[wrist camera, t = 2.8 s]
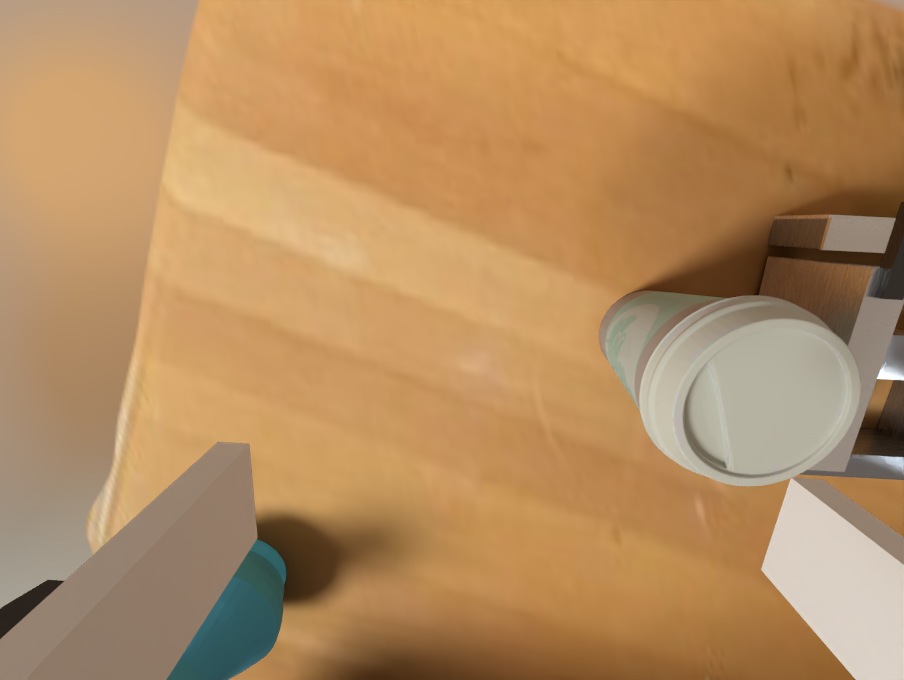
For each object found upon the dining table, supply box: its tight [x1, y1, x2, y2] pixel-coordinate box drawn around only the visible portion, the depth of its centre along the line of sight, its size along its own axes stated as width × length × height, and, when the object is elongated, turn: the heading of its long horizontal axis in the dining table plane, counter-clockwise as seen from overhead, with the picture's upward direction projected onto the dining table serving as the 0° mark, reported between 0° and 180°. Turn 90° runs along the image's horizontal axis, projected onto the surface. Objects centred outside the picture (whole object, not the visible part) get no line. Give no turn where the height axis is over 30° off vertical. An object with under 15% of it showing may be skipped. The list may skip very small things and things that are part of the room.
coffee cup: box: [599, 290, 861, 486], centre depth 23 cm, size 9×9×12 cm
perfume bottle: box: [166, 539, 287, 680], centre depth 27 cm, size 9×9×15 cm
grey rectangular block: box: [759, 202, 904, 472], centre depth 24 cm, size 9×14×7 cm, turn 177°
